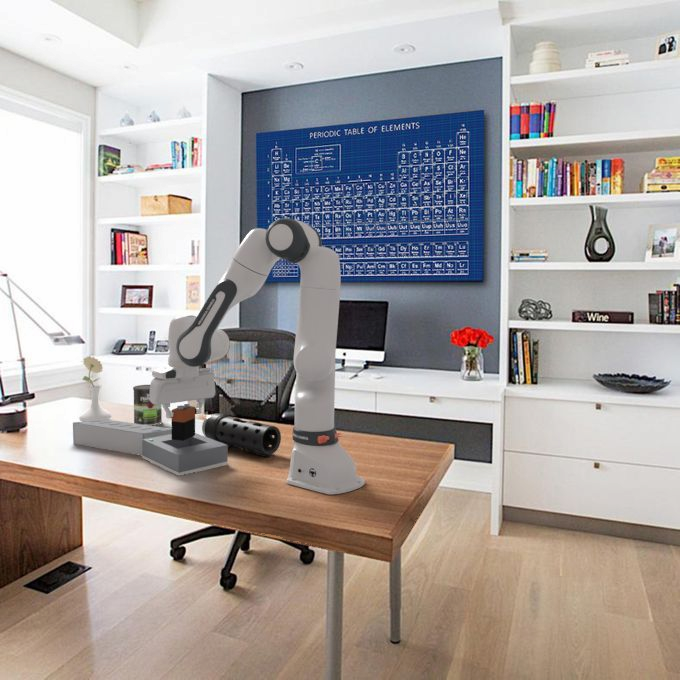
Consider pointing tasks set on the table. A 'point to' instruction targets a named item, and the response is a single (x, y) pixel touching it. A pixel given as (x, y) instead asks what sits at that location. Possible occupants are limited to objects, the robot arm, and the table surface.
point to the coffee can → (145, 407)
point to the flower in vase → (94, 393)
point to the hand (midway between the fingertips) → (183, 415)
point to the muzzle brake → (242, 434)
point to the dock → (185, 453)
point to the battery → (183, 422)
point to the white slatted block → (115, 435)
